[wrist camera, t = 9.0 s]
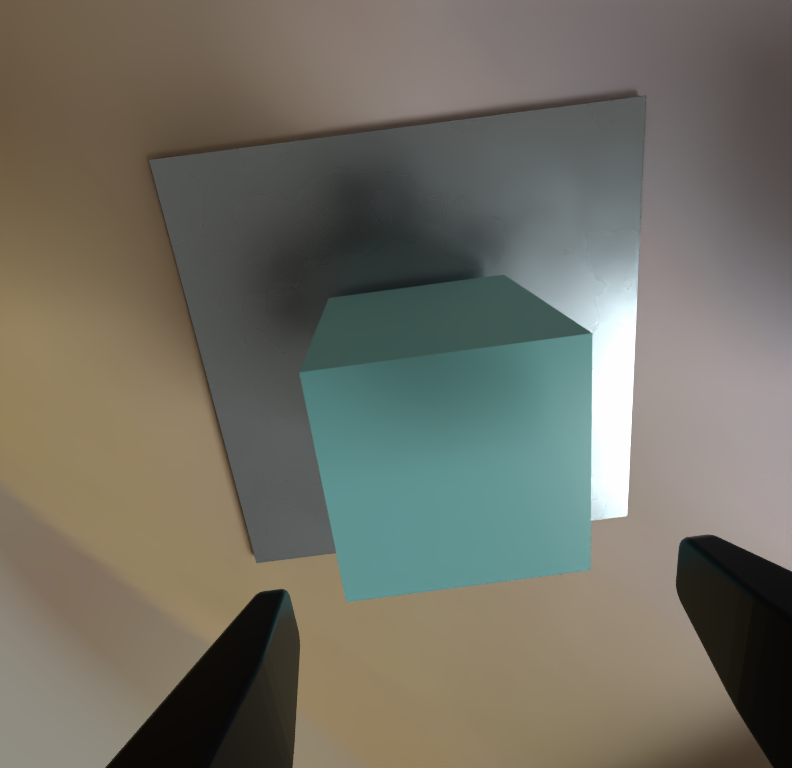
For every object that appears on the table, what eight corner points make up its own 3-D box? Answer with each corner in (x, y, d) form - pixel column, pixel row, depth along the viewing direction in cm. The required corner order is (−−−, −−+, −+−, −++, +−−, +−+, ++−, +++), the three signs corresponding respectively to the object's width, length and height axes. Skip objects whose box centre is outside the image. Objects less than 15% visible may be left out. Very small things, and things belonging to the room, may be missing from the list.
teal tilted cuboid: (503, 274, 15) (592, 333, 9) (512, 432, 17) (590, 570, 11) (328, 298, 15) (299, 372, 9) (355, 453, 17) (346, 602, 11)
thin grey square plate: (640, 97, 15) (859, 24, 8) (623, 511, 20) (750, 674, 13) (153, 160, 15) (-24, 138, 8) (258, 557, 20) (200, 743, 13)
